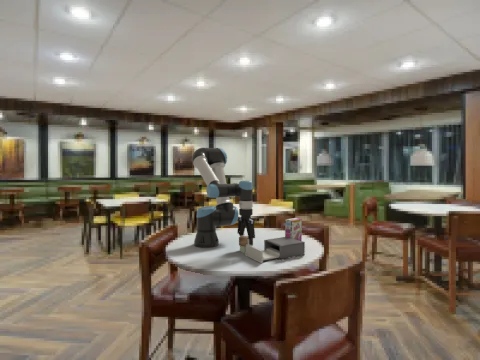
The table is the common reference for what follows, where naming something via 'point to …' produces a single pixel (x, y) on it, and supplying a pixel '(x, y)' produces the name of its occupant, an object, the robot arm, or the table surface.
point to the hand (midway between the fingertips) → (246, 248)
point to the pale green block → (243, 249)
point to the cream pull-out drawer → (261, 253)
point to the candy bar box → (293, 228)
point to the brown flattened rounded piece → (243, 240)
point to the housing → (286, 247)
